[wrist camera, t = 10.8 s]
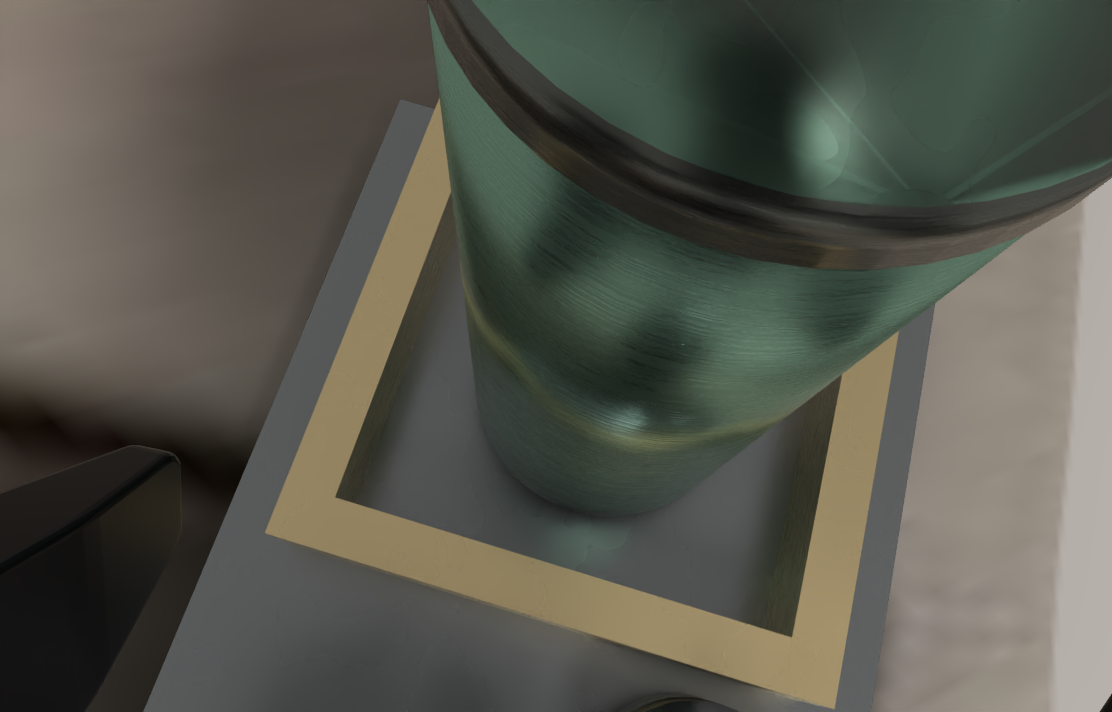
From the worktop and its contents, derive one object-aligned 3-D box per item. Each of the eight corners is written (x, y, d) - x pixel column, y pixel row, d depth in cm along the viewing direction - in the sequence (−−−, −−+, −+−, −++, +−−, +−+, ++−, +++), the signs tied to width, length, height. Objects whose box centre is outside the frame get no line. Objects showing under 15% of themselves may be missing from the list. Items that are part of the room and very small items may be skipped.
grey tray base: (782, 955, 18) (869, 1054, 14) (165, 758, 19) (64, 794, 14) (897, 294, 23) (986, 217, 19) (410, 152, 24) (390, 46, 19)
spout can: (722, 544, 18) (1307, 307, 5) (444, 486, 18) (283, 96, 5) (772, 167, 21) (1222, -616, 8) (534, 118, 21) (582, -742, 8)
